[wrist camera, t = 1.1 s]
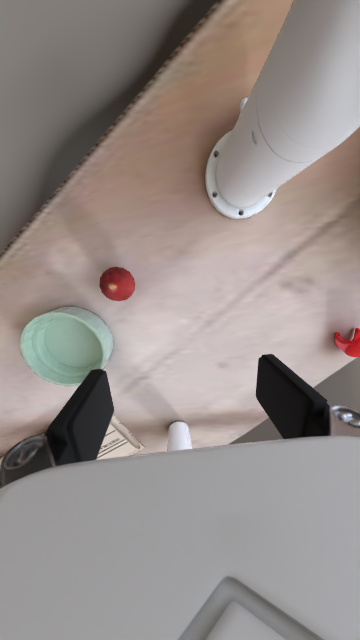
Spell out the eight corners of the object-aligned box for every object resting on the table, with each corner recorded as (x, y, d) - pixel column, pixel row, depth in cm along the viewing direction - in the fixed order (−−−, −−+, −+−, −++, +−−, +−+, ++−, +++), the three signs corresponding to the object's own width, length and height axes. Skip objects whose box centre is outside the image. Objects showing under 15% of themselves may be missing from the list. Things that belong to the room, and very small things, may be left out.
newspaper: (97, 399, 43) (93, 408, 40) (145, 447, 48) (143, 457, 45) (-14, 464, 47) (-25, 476, 44) (41, 501, 52) (35, 513, 50)
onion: (106, 293, 35) (89, 302, 28) (108, 264, 34) (91, 264, 26) (136, 299, 36) (127, 308, 28) (139, 269, 34) (131, 271, 27)
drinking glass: (160, 424, 46) (156, 497, 32) (183, 414, 45) (190, 483, 31) (173, 441, 48) (175, 516, 34) (195, 431, 47) (207, 503, 33)
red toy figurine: (360, 341, 42) (391, 353, 36) (337, 355, 43) (363, 369, 37) (350, 315, 40) (381, 323, 34) (325, 329, 40) (351, 340, 35)
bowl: (29, 307, 35) (8, 314, 30) (108, 304, 36) (99, 311, 31) (48, 373, 40) (32, 388, 35) (118, 369, 40) (111, 384, 36)
